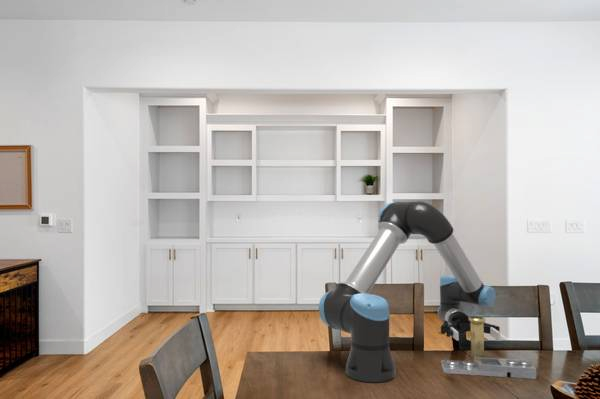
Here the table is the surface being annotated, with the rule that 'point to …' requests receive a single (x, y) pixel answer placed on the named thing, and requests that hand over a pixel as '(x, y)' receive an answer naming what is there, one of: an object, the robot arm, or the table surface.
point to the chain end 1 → (468, 368)
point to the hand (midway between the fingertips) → (478, 336)
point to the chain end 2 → (507, 366)
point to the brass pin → (477, 336)
